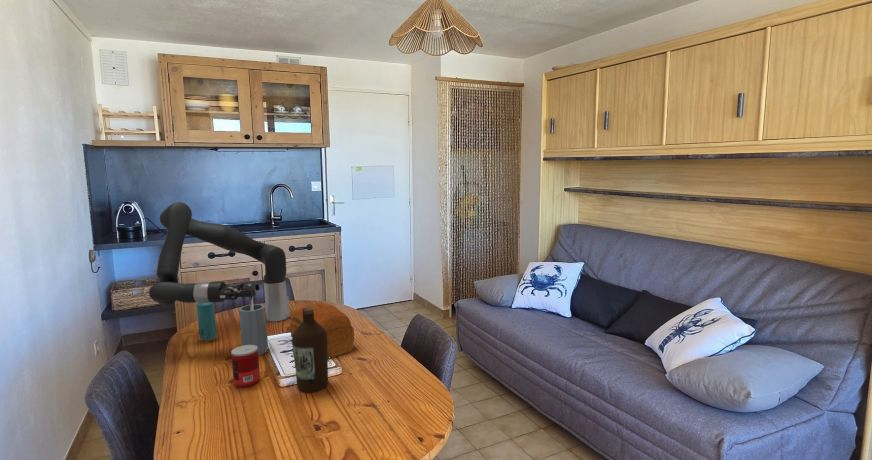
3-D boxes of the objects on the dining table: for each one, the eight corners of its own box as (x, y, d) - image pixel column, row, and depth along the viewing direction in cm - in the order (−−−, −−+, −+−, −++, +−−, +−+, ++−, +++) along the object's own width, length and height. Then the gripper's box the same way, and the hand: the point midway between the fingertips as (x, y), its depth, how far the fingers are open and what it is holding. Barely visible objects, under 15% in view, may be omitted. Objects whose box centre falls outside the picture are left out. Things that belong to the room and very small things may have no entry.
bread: (318, 362, 166) (316, 319, 164) (287, 341, 187) (285, 303, 184) (358, 350, 176) (356, 309, 174) (325, 331, 197) (323, 294, 194)
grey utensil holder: (261, 343, 185) (257, 301, 182) (276, 348, 179) (273, 305, 177) (236, 352, 177) (232, 308, 174) (251, 358, 171) (247, 313, 169)
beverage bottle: (220, 337, 192) (216, 290, 189) (211, 344, 186) (206, 294, 183) (205, 337, 193) (200, 289, 190) (196, 343, 186) (190, 294, 183)
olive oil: (307, 376, 156) (302, 302, 152) (336, 380, 152) (331, 304, 149) (288, 391, 146) (282, 312, 142) (318, 395, 142) (313, 315, 139)
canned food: (265, 377, 155) (262, 345, 154) (248, 389, 148) (245, 355, 146) (246, 375, 158) (243, 343, 156) (228, 385, 150) (225, 352, 149)
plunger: (257, 342, 181) (252, 281, 178) (267, 345, 178) (261, 283, 174) (243, 347, 176) (237, 285, 173) (252, 351, 173) (247, 287, 169)
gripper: (201, 287, 165) (248, 285, 166) (217, 277, 179) (260, 275, 180) (203, 308, 166) (250, 306, 167) (218, 296, 181) (262, 294, 181)
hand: (255, 290), depth 174 cm, fingers open, 8 cm apart
